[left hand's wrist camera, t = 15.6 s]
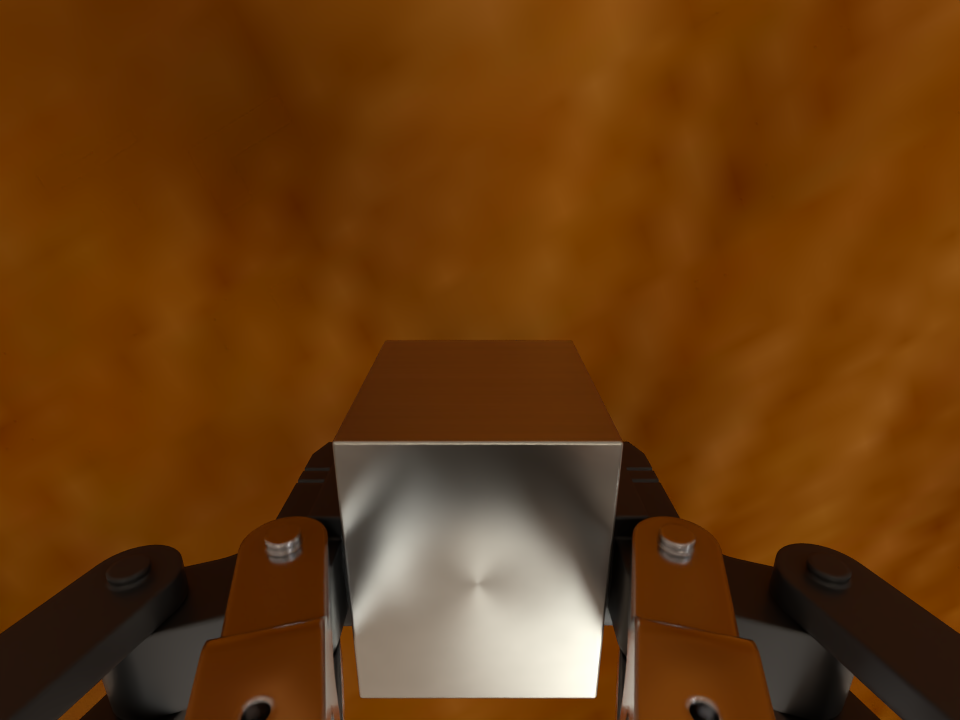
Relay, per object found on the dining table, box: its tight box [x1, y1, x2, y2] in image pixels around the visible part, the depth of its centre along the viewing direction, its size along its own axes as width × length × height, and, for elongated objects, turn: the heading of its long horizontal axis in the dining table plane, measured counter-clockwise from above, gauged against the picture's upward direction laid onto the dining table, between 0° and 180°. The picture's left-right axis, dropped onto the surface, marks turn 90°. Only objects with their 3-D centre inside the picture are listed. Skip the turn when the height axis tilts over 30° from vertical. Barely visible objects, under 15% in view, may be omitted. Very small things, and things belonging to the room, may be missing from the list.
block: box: [332, 340, 623, 698], centre depth 10 cm, size 4×5×4 cm
